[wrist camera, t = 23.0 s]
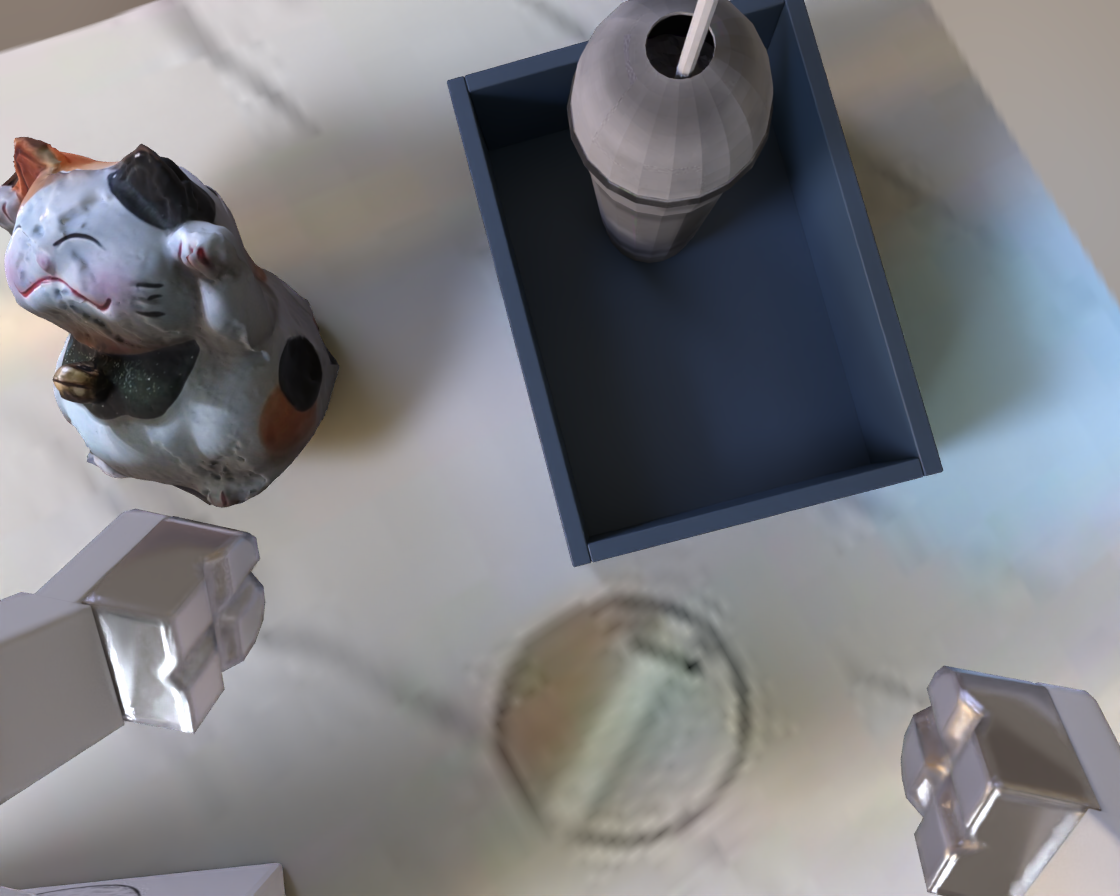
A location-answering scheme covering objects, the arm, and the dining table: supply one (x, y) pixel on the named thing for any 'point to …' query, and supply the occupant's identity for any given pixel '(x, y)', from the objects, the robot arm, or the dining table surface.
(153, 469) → the lucky cat figurine
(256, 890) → the cereal box
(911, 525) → the dining table surface
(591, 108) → the beverage cup
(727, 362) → the blue open storage box
